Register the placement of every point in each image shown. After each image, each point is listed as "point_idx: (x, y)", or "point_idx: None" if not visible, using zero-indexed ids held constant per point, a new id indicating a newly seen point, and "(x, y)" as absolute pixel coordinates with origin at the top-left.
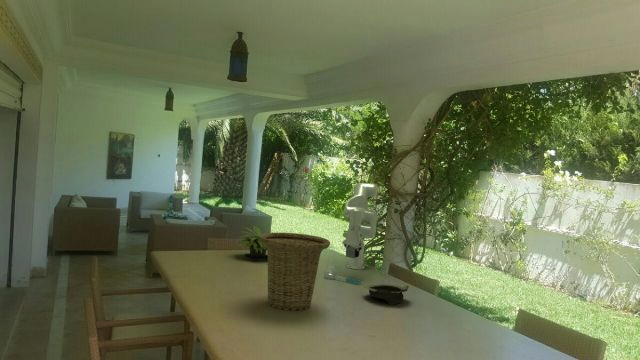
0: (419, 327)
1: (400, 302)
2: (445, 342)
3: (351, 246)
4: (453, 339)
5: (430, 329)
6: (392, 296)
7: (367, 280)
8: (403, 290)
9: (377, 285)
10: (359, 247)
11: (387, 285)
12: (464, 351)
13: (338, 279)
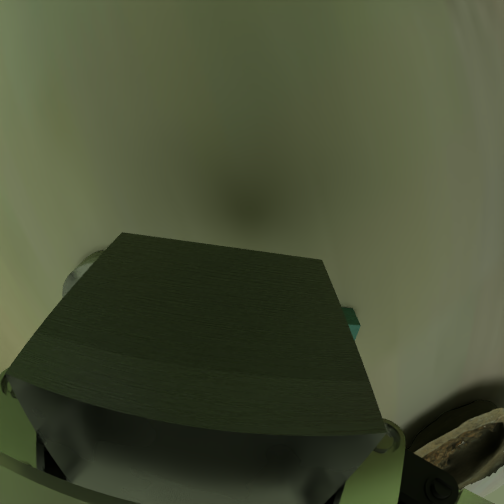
0: (466, 487)
1: (482, 436)
2: (479, 493)
3: (91, 450)
4: (495, 481)
5: (480, 481)
6: (462, 469)
7: (373, 157)
8: (497, 466)
9: (442, 442)
10: (387, 500)
11: (481, 425)
12: (488, 492)
13: None
